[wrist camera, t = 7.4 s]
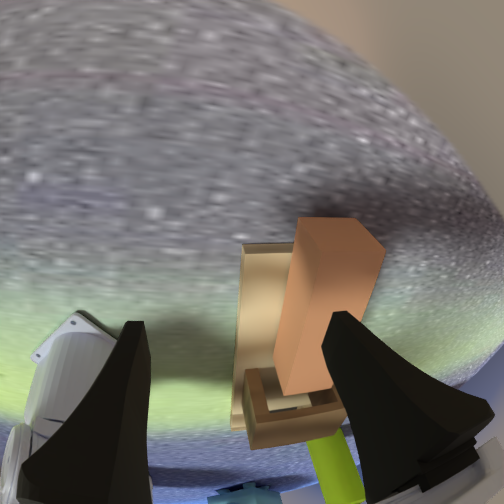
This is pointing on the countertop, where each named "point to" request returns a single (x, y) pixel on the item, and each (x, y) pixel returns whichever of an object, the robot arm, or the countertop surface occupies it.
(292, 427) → the tunnel
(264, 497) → the teapot
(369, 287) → the block
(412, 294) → the countertop surface
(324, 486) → the soap dispenser
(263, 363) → the board
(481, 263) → the countertop surface
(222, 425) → the countertop surface
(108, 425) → the robot arm
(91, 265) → the countertop surface
